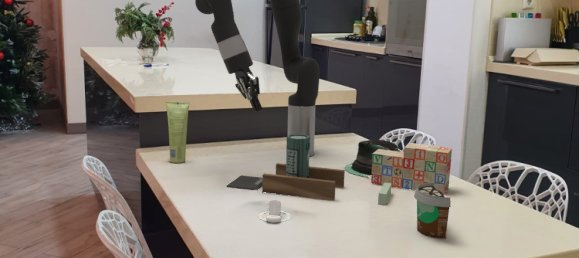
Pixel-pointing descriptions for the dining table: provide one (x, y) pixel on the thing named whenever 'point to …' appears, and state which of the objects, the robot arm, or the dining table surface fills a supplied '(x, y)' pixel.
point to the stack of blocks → (413, 167)
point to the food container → (432, 211)
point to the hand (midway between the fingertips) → (258, 110)
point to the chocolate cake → (368, 156)
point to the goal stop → (384, 193)
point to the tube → (177, 130)
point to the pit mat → (246, 183)
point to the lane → (304, 183)
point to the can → (297, 155)
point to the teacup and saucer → (274, 212)
